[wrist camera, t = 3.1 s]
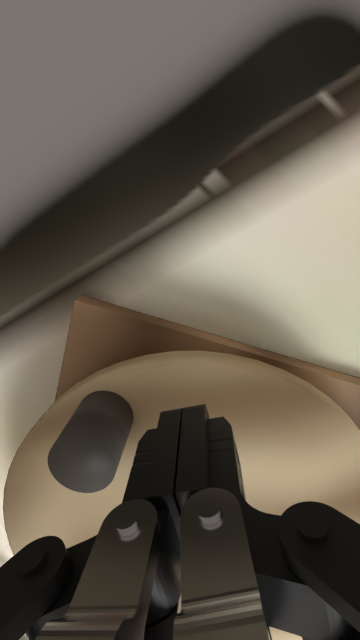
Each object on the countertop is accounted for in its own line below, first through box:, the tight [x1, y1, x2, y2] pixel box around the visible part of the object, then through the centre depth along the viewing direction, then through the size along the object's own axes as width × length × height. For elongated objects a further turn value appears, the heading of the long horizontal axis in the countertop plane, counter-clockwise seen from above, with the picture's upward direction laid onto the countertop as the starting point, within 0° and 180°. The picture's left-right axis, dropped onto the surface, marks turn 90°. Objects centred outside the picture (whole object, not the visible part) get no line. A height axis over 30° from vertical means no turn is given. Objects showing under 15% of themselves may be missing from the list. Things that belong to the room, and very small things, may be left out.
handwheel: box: [3, 351, 360, 640], centre depth 16 cm, size 19×19×4 cm
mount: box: [55, 295, 360, 429], centre depth 19 cm, size 18×18×3 cm
